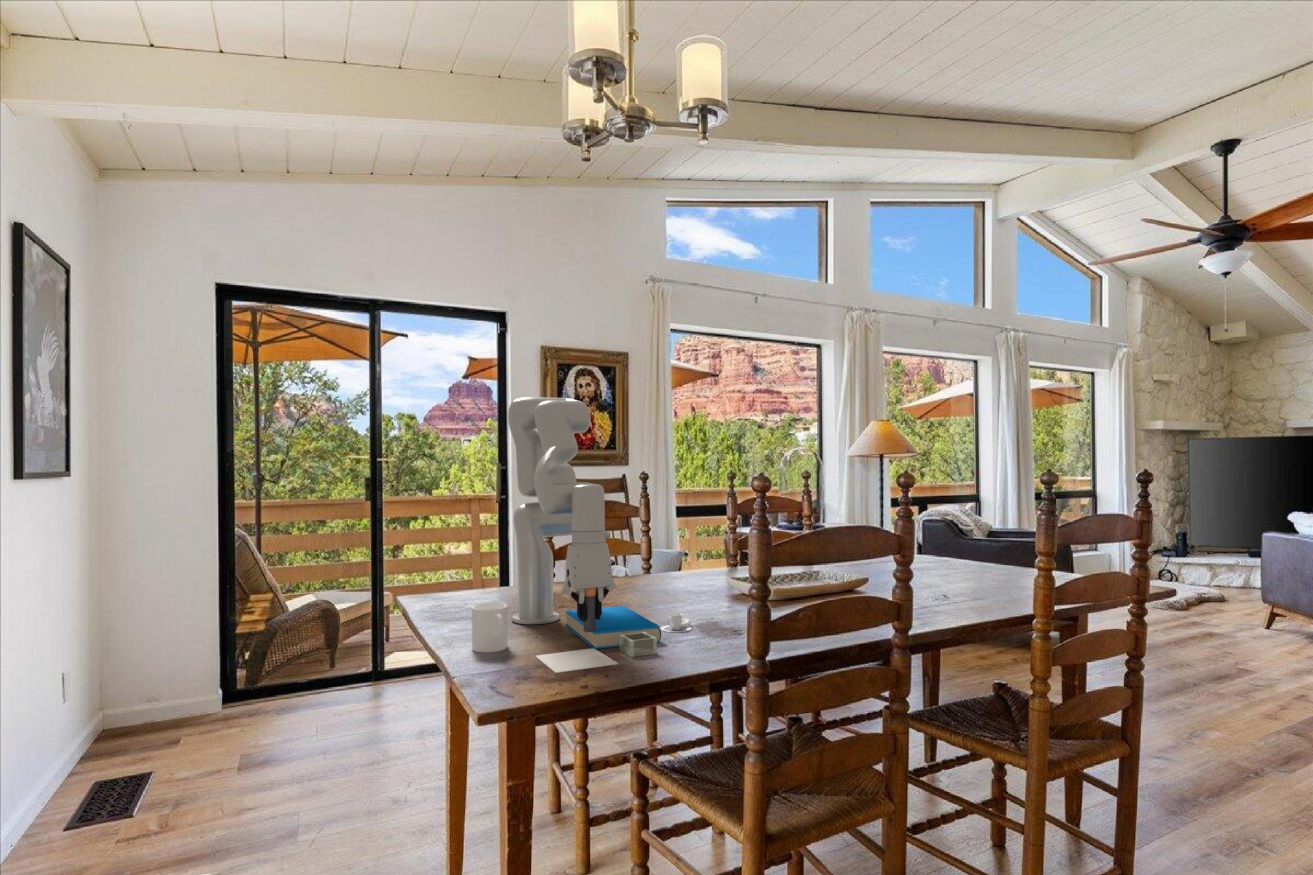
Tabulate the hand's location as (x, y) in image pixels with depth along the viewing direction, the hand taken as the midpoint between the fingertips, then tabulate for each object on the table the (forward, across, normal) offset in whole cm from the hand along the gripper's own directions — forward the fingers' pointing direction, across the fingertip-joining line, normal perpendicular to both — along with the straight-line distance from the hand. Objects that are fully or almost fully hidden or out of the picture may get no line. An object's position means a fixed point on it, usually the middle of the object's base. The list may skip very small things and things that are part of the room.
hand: (589, 618), depth 176 cm
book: (+7, -11, -14) cm, 19 cm away
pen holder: (+8, -10, +4) cm, 13 cm away
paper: (+8, +5, +4) cm, 10 cm away
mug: (+8, +19, -13) cm, 24 cm away
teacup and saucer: (+8, -30, -10) cm, 33 cm away
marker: (+3, 0, 0) cm, 3 cm away
